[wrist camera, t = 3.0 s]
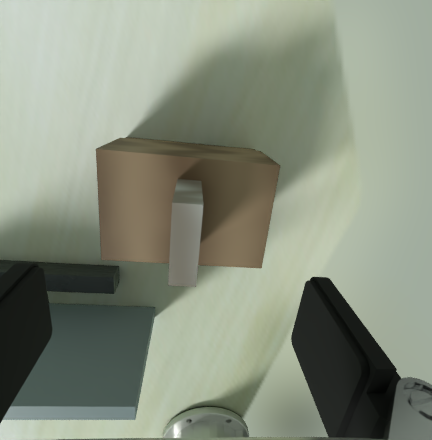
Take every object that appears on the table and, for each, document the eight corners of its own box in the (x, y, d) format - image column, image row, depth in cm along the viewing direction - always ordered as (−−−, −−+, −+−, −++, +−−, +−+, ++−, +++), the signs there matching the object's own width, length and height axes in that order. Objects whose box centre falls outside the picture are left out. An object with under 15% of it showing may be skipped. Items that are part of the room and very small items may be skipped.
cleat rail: (118, 266, 32) (113, 277, 29) (119, 281, 32) (113, 293, 30) (-41, 258, 30) (-58, 269, 28) (-36, 274, 31) (-53, 286, 29)
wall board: (154, 307, 34) (135, 406, 23) (154, 317, 34) (135, 419, 23) (-70, 298, 31) (-214, 405, 20) (-66, 310, 32) (-205, 419, 21)
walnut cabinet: (254, 147, 28) (306, 184, 15) (243, 223, 31) (278, 311, 18) (126, 134, 27) (62, 164, 14) (127, 215, 30) (75, 303, 17)
